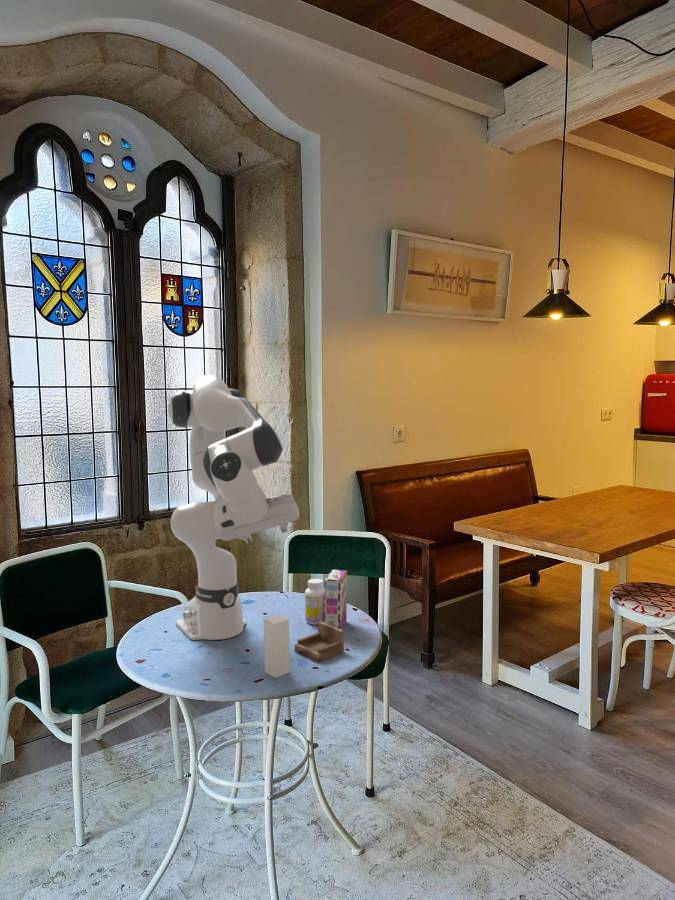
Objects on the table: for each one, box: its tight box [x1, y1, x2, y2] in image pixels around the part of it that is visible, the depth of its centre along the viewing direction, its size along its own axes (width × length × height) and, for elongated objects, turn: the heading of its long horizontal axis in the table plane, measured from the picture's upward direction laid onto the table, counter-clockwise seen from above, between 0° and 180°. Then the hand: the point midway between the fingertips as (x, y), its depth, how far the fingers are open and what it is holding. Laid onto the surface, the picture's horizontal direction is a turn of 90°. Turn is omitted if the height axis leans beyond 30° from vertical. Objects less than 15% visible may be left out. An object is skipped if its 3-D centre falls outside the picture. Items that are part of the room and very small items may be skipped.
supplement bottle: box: [304, 578, 324, 626], centre depth 195 cm, size 7×7×13 cm
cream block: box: [263, 614, 291, 679], centre depth 160 cm, size 4×5×14 cm
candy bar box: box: [323, 569, 348, 630], centre depth 189 cm, size 11×5×16 cm, turn 168°
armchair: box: [294, 621, 345, 663], centre depth 173 cm, size 10×10×6 cm
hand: (267, 535), depth 161 cm, fingers open, 8 cm apart
